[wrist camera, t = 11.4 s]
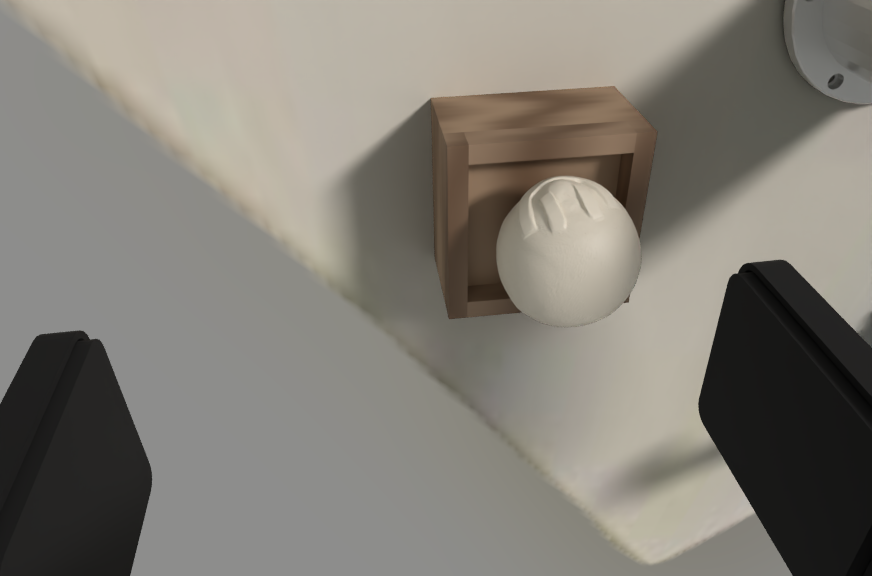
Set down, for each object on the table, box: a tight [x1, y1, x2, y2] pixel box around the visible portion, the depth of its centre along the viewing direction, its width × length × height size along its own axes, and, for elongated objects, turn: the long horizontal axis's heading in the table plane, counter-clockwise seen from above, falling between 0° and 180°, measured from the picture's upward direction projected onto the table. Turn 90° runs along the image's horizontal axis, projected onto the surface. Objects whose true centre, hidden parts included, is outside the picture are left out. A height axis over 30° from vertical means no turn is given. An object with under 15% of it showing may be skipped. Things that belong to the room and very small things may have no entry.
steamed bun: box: [496, 176, 642, 327], centre depth 34 cm, size 7×7×7 cm
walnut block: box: [431, 86, 657, 319], centre depth 39 cm, size 10×10×6 cm
